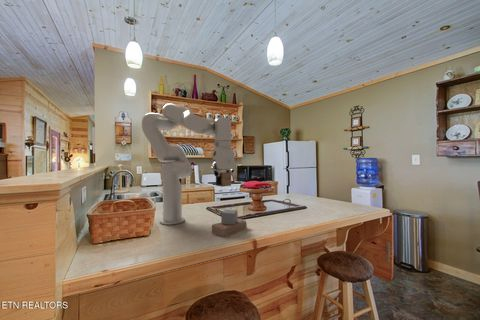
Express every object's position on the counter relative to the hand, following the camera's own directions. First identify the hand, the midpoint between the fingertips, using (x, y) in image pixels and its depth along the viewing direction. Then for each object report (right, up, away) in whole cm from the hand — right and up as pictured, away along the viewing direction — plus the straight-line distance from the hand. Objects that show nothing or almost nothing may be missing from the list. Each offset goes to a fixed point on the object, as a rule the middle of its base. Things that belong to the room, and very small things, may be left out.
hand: (223, 184), depth 104 cm
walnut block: (0, -1, 0) cm, 1 cm away
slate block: (+3, -18, +1) cm, 18 cm away
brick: (+3, -23, +1) cm, 23 cm away
